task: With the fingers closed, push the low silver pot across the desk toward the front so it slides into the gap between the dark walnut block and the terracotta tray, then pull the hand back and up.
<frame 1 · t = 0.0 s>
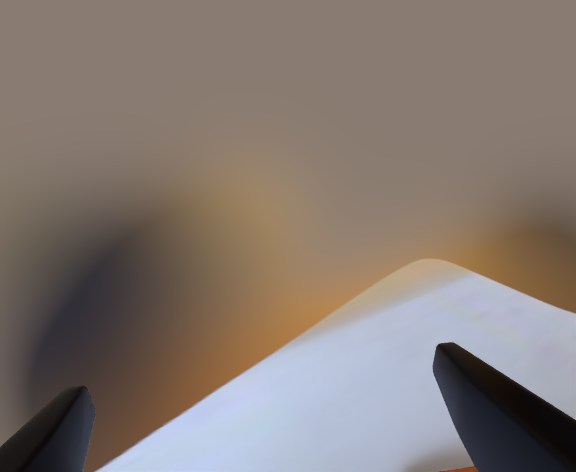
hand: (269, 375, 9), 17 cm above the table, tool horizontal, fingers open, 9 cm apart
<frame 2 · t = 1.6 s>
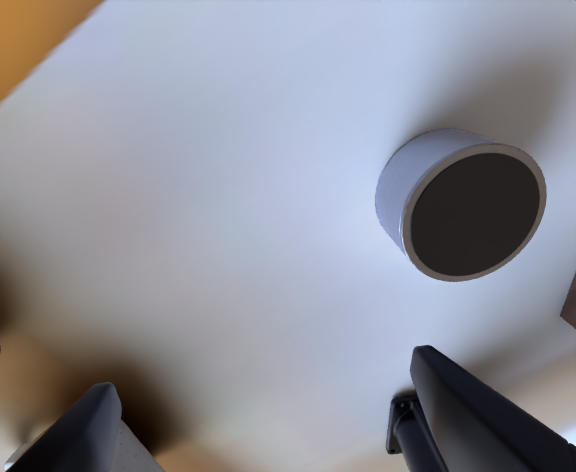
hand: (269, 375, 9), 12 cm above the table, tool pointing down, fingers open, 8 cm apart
ceramic mug: (96, 441, 27), on the table
silver pot: (435, 192, 21), on the table
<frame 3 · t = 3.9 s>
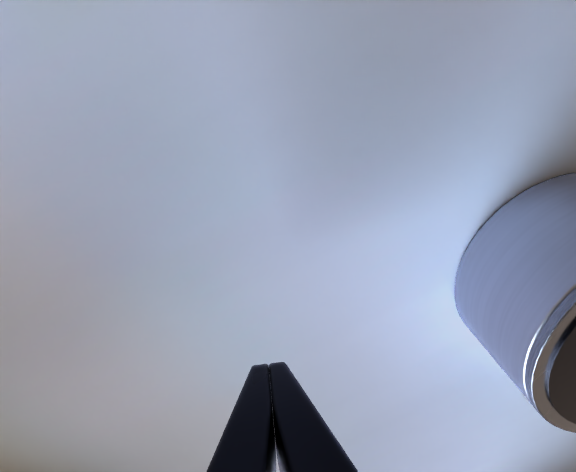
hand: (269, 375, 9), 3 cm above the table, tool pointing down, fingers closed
silver pot: (549, 267, 13), on the table
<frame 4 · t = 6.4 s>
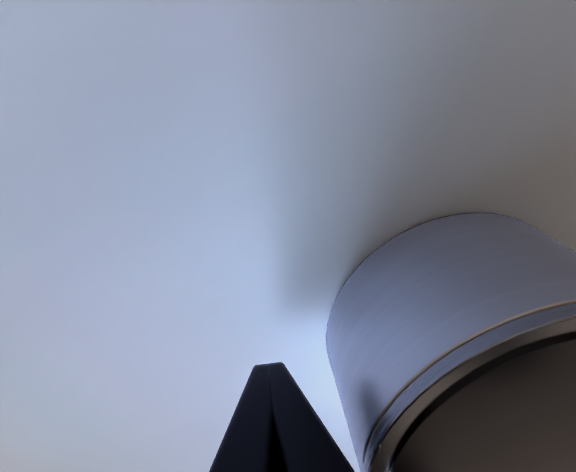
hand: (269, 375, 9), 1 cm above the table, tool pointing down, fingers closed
silver pot: (443, 323, 11), on the table, touching gripper
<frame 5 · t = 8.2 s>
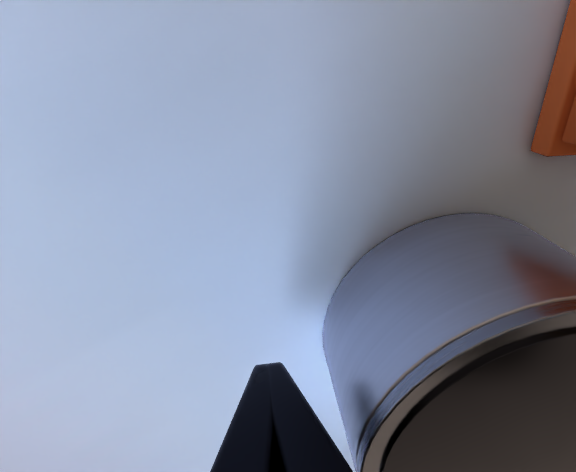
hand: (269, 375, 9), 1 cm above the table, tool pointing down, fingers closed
silver pot: (439, 322, 11), on the table, touching gripper
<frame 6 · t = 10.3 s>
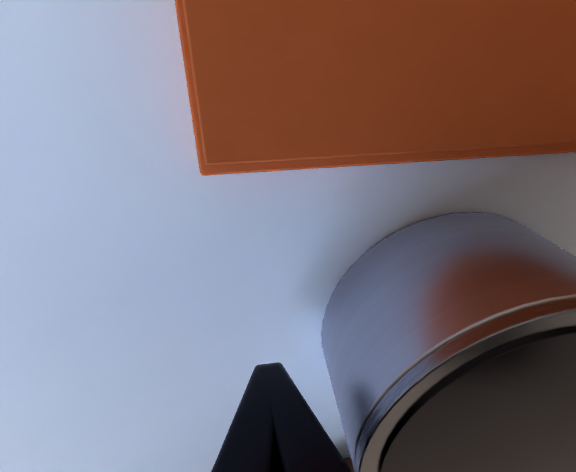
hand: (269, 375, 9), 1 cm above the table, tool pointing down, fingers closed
terracotta tray: (482, 18, 7), on the table
silver pot: (438, 321, 11), on the table, touching gripper
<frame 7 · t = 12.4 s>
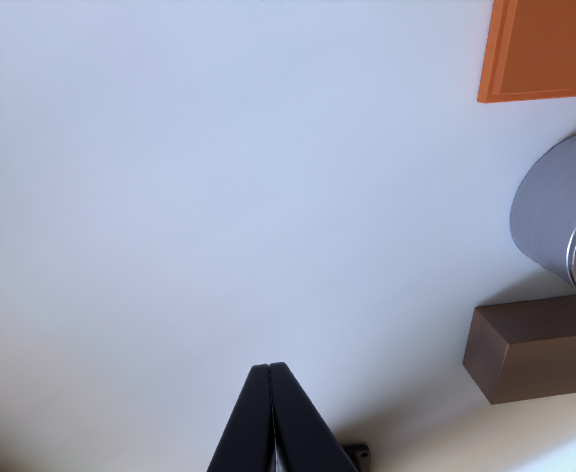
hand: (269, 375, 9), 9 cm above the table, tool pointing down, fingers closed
walnut block: (530, 329, 22), on the table
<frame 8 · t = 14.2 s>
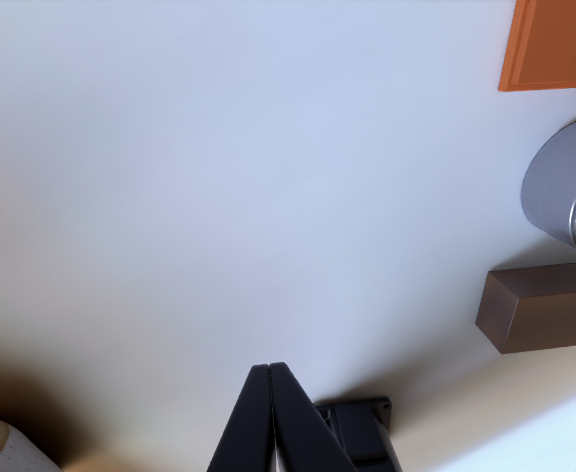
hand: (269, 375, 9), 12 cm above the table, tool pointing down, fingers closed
walnut block: (535, 293, 25), on the table
ceramic mug: (3, 452, 27), on the table
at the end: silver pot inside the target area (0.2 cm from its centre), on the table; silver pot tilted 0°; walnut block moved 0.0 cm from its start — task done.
